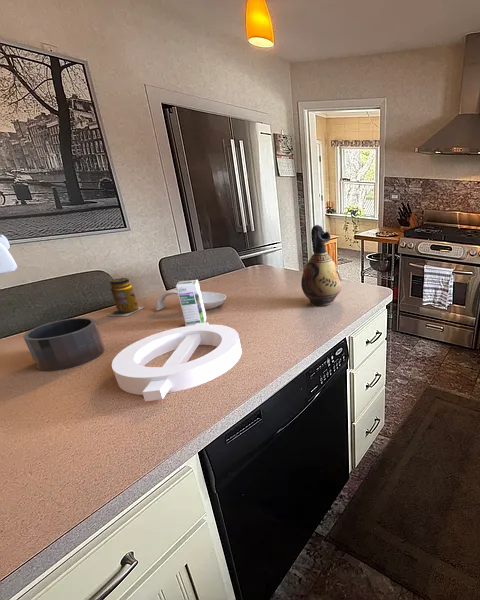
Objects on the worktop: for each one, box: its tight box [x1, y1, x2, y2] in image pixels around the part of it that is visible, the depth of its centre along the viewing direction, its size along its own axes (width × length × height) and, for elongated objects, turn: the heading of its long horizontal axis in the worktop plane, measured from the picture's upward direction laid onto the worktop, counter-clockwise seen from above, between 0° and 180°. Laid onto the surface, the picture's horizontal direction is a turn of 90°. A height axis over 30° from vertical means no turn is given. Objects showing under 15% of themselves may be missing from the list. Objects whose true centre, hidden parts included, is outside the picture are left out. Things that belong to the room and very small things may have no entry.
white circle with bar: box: [111, 321, 243, 402], centre depth 87 cm, size 28×28×5 cm
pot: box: [22, 317, 106, 372], centre depth 88 cm, size 14×14×9 cm
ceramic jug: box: [300, 224, 343, 307], centre depth 125 cm, size 17×15×30 cm
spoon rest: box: [155, 288, 227, 311], centre depth 122 cm, size 24×12×7 cm, turn 100°
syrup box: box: [175, 279, 207, 326], centre depth 109 cm, size 6×6×14 cm
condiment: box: [107, 277, 145, 317], centre depth 118 cm, size 7×8×12 cm
